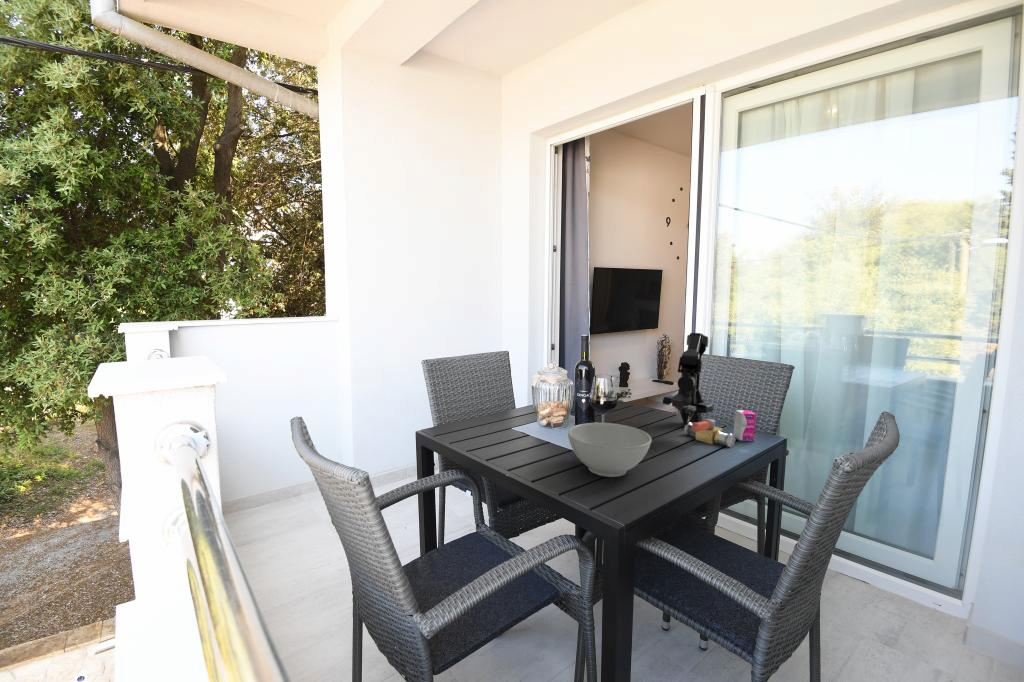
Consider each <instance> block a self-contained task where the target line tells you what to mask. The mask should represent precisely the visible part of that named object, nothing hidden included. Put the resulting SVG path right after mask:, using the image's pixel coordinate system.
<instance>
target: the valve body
mask: <svg viewBox="0 0 1024 682" xmlns="http://www.w3.org/2000/svg"><path fill="white" fill-rule="evenodd" d="M683 430H684V433H685V434H686V435H689V436H691V435H693V436H695V440H697V441H700V442H702V443H706V444H709V445H714V444H716V445H717V444H718V445H720V444H723V445H725V446H726V447H728V448H733V446H734V445H735V443H736V438H735V435H734V434H733V433H724V432H723V428H722V427H717V426H715V428H709V429H705V430H701V431H699V432H695V431H692V422H689V423H688V424H687V425H684V429H683Z"/></svg>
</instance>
